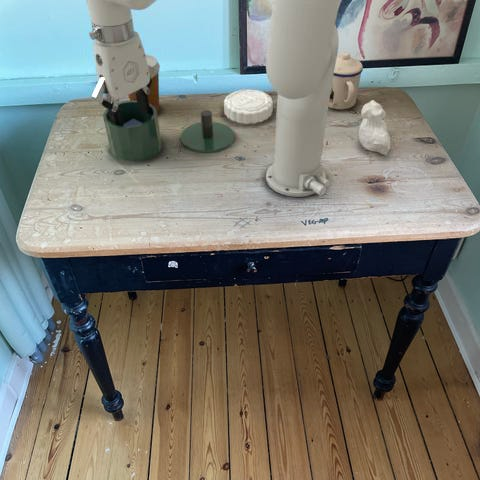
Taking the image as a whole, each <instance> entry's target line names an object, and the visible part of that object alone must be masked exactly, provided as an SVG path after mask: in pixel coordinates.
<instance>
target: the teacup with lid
mask: <svg viewBox="0 0 480 480" xmlns="http://www.w3.org/2000/svg"><path fill="white" fill-rule="evenodd" d="M363 70H364V67H363V64H362V62H361V61H360V60H358V59H357V58H354V57H352V56H351V54H350V53H349V52H348V51H347V52H346V51H345V52H342V53H341V55H340V56H339V55H338V56H337V59H336V64H335V69H334V74H333V80H332V85H331V91H330V98H329V105H328V108H329V109H333V110H347V109H350V108H353V107H354V106H355V105H356V103H357V98H358V93H359V87H360V81H361V75H362V72H363Z"/></svg>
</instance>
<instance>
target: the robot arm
mask: <svg viewBox="0 0 480 480" xmlns="http://www.w3.org/2000/svg"><path fill="white" fill-rule="evenodd" d="M342 1H343V0H273V1H272V9H271V16H270V24H269V30H268V38H267V39H268V40H267V49H266V56H265V71H266V77H267V79H268V81H269V84H270V86H271V87H272V89H273V90H274V91H275V92H276V94H277V104H276V116H275V117H276V119H275V135H274V136H275V137H274V157H273V163H272V164H271V165H270V166H269V167H268V168H267V170H266V173H265V179H266V184H267V185H268V186H269V188H270V189H272V190H273V191H274V192H276V193H278V194H281V195H283V196H287V197H293V198H302V197H308V196H311V195H314V194H317V195H318V196H320V197H321V196H324V195H325V193H326V192H327V188H328V187H329V186H330V184H331V180H329V179H328V178H327V174H326V171H325V170H324V166H323V165H322V164H321V161H322V155H323V148H324V147H323V146H324V139H325V132H326V126H327V125H326V124H327V118H328V113H329V112H328V111H329V107H328V105H329V98H330V91H331V85H332V80H333V74H334V69H335V64H336V59H337V57H338V53H339V46H340V45H339V41H340V40H339V33H338V28H337V26H336V21H337V16H338V12H339V9H340V6H341V3H342ZM155 2H157V0H86V4H87V5H86V6H87V9H88V13H89V17H90V22H91V27H92V30H91V31H90V32H89V33H88V34H89V35H88V36H89V38H90V39H91V40H92V41H93V54H94V55H93V58H94V65H95V72H96V77H97V81H98V82H97V84H96V86H95V88H94V90H93V92H92V95H91V99H92V100H93V101H95V102H96V103H98V105H100V106H102V107H104V108H105V109H108V112H109V116H110V121H111V123H112V124H115V125H118V126H124V125H123V120H122V116H121V111H120V110H118V103H120V102H119V101H120V100H121V99H123V98H125V97H129V96H128V95H130V94H132V93H134V92H135V91H137V90H138V91H137V92H136V98H137V104H138V109H139V110H140V111H142V112H144V113H146V114H149V113H150V107H149V99H148V94H149V93H150V90H149V88H150V86H151V83H152V78H153V75H154V72H155V69H154V68H153V67H151V66H149V65H148V64H147V60H146V56H145V54H146V52H145V48H144V45H143V43H142V40H141V37H140V35H139V33H138V31H136V30H135V27H134V21H133V15H132V14H133V13H132V10H133V11H143V10H145V9H148V8H149V7H151V6H152V5H153V4H154V3H155ZM104 94H105V97H103V96H104Z"/></svg>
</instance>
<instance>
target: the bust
mask: <svg viewBox="0 0 480 480" xmlns="http://www.w3.org/2000/svg"><path fill="white" fill-rule="evenodd" d="M360 114H361V115H360V116H361V118H362V120H361V123H360V127H359V130H358V141H359V143H360V144H361V146H362V147H363V149H364V150H366V151H370V152H377V153H379V154H381V155H383V156H387V155H388V154H389V152H390V149H391V139H390V135H389V130H388V127H387V123H386V122H385V121H384V120H383V118H385V117H386V116H387V112H386V111H385V110H384V109H383V106H382V105H381V104H380V103H378V102H377V101H376V100H374V99H372V100H370V101H369V102H367V103H365V104H364V105H363V107H362V109H361V112H360Z"/></svg>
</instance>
